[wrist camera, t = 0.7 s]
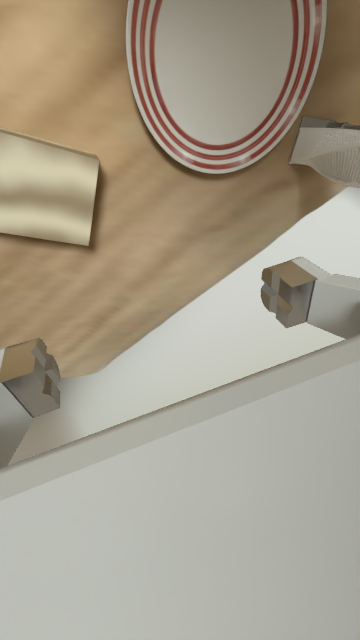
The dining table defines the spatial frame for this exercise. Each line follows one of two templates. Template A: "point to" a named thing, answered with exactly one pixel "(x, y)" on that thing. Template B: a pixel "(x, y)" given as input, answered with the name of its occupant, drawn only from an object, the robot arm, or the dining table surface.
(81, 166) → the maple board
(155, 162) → the dining table surface
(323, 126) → the skyscraper
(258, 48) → the dinner plate
